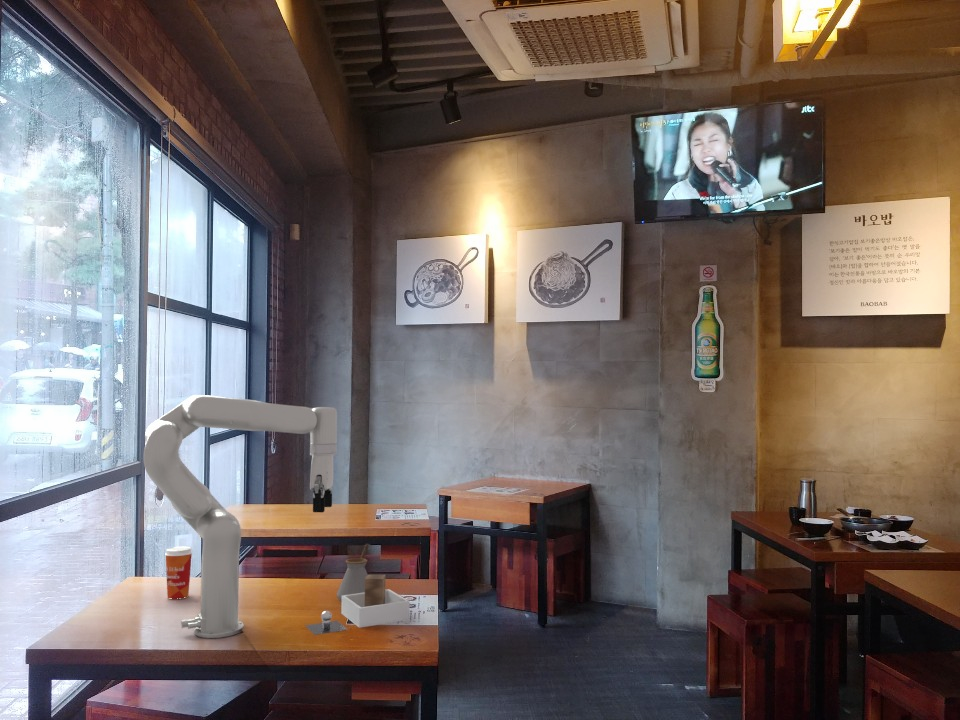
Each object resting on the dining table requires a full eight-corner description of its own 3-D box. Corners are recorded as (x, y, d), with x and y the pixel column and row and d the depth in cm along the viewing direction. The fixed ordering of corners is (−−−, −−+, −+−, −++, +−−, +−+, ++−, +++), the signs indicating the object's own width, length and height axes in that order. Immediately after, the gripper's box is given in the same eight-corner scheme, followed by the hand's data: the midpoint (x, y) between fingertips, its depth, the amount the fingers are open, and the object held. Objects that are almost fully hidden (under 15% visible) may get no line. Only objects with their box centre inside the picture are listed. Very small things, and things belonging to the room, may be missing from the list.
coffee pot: (370, 608, 220) (370, 557, 220) (332, 607, 221) (332, 556, 221) (385, 589, 241) (385, 543, 242) (350, 589, 242) (350, 542, 243)
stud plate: (314, 638, 193) (315, 617, 193) (304, 629, 201) (305, 608, 201) (348, 633, 197) (348, 612, 197) (337, 624, 205) (337, 604, 205)
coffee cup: (157, 599, 229) (158, 550, 230) (175, 592, 237) (176, 545, 238) (180, 601, 227) (181, 552, 228) (198, 594, 235) (199, 546, 235)
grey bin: (359, 631, 199) (359, 608, 199) (341, 616, 212) (341, 595, 212) (409, 623, 206) (409, 601, 206) (389, 609, 219) (389, 589, 219)
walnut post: (364, 618, 206) (364, 578, 207) (367, 613, 211) (367, 574, 212) (382, 619, 206) (382, 579, 207) (385, 613, 211) (385, 574, 212)
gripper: (317, 447, 223) (316, 505, 223) (302, 452, 206) (302, 514, 205) (342, 447, 223) (341, 505, 222) (329, 452, 206) (329, 514, 205)
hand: (322, 509), depth 214 cm, fingers open, 9 cm apart
